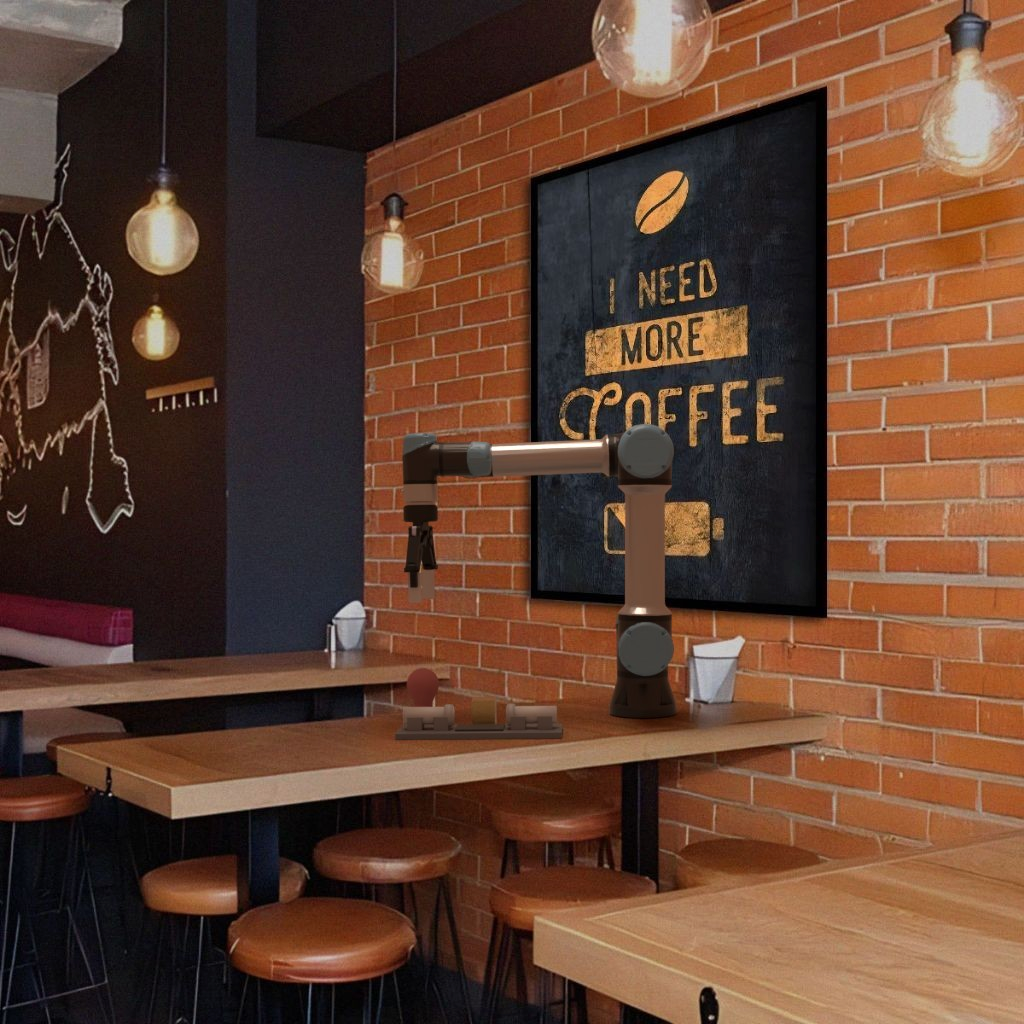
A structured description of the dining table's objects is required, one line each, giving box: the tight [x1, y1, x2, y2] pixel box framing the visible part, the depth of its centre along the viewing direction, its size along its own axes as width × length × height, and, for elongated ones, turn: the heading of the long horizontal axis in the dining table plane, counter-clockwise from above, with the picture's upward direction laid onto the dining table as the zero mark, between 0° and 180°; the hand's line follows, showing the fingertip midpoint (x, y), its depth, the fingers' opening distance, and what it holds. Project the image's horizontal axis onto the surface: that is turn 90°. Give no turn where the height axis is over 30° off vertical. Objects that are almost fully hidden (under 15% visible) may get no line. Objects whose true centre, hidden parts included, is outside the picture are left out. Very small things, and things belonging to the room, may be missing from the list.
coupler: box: [470, 696, 498, 724], centre depth 289 cm, size 5×6×6 cm
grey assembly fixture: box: [394, 703, 563, 741], centre depth 278 cm, size 34×12×6 cm, turn 87°
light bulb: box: [406, 667, 440, 707], centre depth 296 cm, size 7×7×12 cm
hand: (421, 601), depth 292 cm, fingers open, 13 cm apart
